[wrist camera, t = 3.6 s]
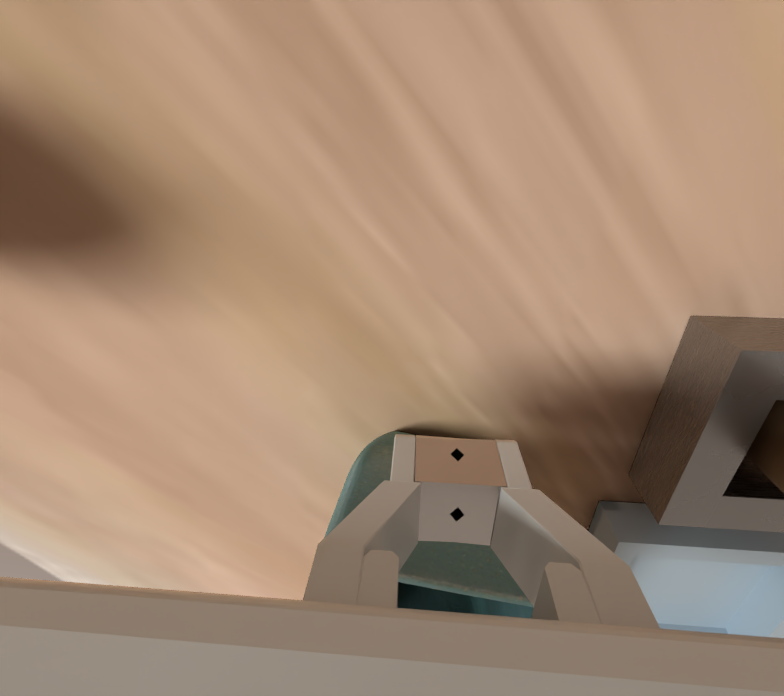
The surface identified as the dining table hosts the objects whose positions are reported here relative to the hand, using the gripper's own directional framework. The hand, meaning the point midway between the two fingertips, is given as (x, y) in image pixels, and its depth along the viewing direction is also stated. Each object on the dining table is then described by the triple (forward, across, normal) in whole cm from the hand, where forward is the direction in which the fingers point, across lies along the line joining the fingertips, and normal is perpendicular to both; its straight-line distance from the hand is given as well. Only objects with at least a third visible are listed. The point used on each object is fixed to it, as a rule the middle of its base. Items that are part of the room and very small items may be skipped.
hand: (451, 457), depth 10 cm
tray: (+9, -15, +16) cm, 23 cm away
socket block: (+8, -15, +4) cm, 17 cm away
